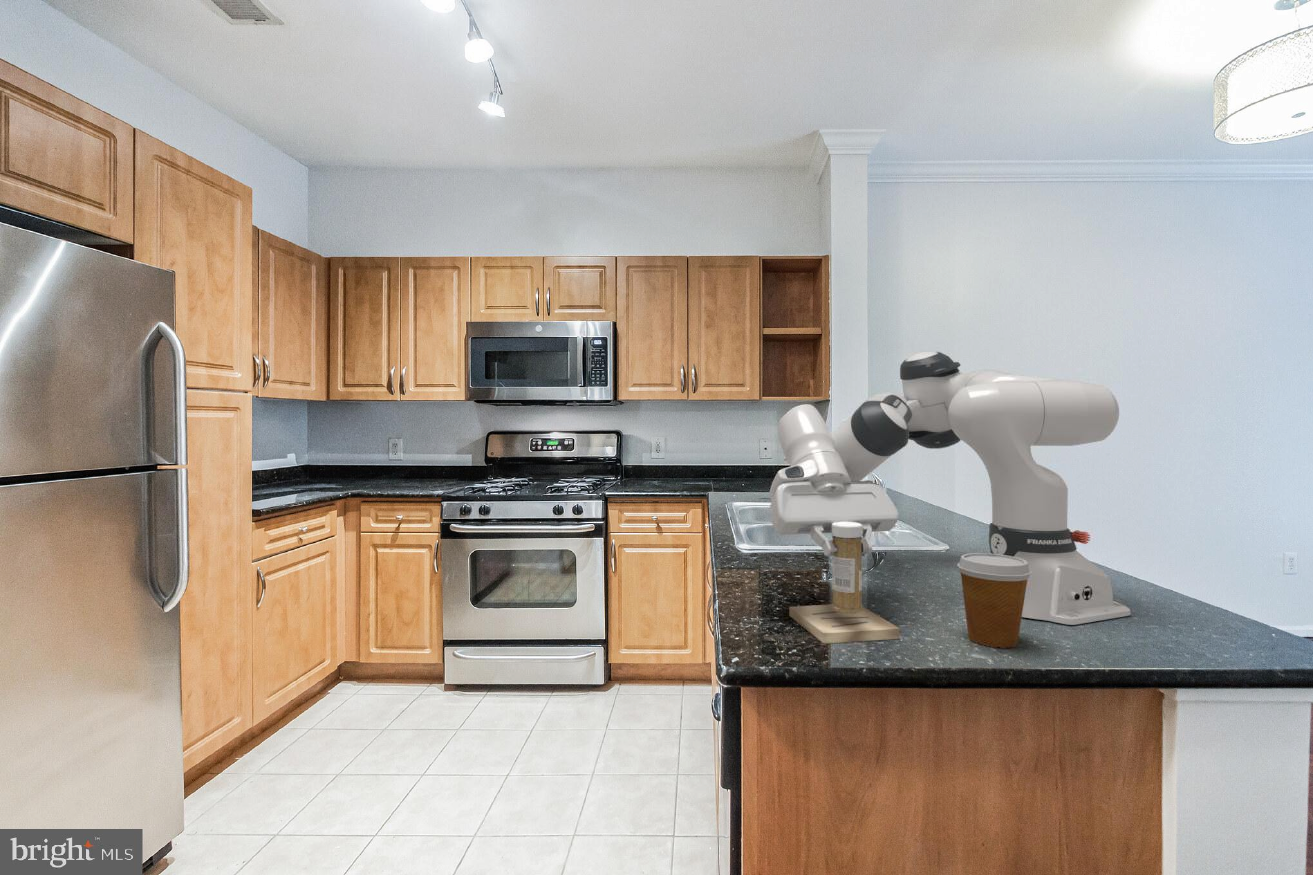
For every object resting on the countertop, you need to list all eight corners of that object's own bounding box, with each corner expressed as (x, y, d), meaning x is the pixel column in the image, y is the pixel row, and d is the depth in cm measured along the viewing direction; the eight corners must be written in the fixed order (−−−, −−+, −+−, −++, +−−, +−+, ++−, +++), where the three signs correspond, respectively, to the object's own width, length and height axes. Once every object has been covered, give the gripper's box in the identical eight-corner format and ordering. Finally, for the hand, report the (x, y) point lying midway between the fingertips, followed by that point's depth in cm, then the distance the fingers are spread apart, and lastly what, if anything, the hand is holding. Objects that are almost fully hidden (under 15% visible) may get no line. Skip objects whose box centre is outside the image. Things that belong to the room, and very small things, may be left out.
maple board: (856, 611, 104) (856, 602, 104) (899, 638, 91) (899, 628, 91) (789, 615, 102) (789, 606, 102) (823, 643, 89) (823, 633, 89)
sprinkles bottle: (868, 611, 94) (869, 523, 93) (849, 616, 91) (849, 526, 91) (844, 604, 97) (844, 519, 97) (825, 609, 95) (825, 522, 95)
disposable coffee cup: (945, 629, 95) (946, 552, 95) (1009, 630, 95) (1010, 552, 94) (974, 651, 86) (975, 566, 85) (1044, 653, 85) (1046, 567, 85)
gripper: (872, 492, 107) (903, 561, 97) (759, 495, 103) (780, 566, 94) (886, 468, 102) (920, 538, 93) (768, 470, 99) (791, 543, 89)
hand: (849, 552), depth 93 cm, fingers closed on sprinkles bottle, 4 cm apart
